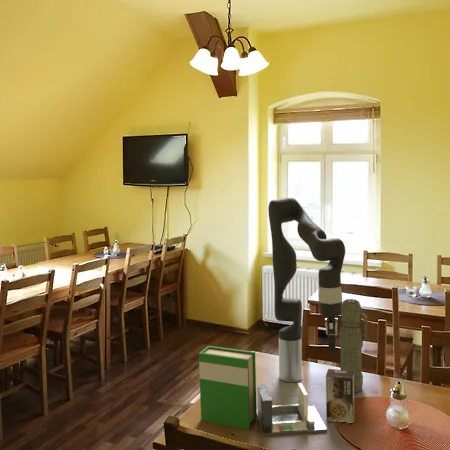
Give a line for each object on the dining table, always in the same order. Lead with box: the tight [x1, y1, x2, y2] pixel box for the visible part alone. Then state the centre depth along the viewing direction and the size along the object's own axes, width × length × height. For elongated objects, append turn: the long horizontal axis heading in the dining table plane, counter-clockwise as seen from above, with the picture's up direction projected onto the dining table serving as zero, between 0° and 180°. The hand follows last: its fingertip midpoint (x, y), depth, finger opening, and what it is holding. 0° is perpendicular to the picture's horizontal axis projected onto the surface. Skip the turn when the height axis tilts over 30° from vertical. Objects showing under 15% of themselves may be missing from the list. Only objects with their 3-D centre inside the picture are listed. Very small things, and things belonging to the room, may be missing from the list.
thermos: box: [335, 298, 368, 395], centre depth 185 cm, size 9×12×35 cm
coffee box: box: [325, 368, 355, 424], centre depth 164 cm, size 9×6×16 cm
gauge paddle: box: [297, 382, 309, 426], centre depth 162 cm, size 12×1×10 cm, turn 4°
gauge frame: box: [256, 383, 328, 437], centre depth 163 cm, size 16×21×11 cm
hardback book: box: [198, 345, 258, 430], centre depth 165 cm, size 18×7×24 cm, turn 67°
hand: (332, 348), depth 158 cm, fingers open, 8 cm apart
